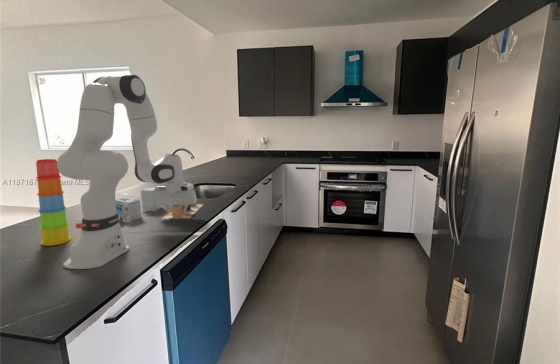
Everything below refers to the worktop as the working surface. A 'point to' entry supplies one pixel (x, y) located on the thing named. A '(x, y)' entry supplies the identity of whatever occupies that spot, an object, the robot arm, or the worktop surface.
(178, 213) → the tab
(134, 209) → the light bulb box
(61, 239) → the stacking cups
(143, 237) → the worktop surface
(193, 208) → the winding board
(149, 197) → the supplement box
